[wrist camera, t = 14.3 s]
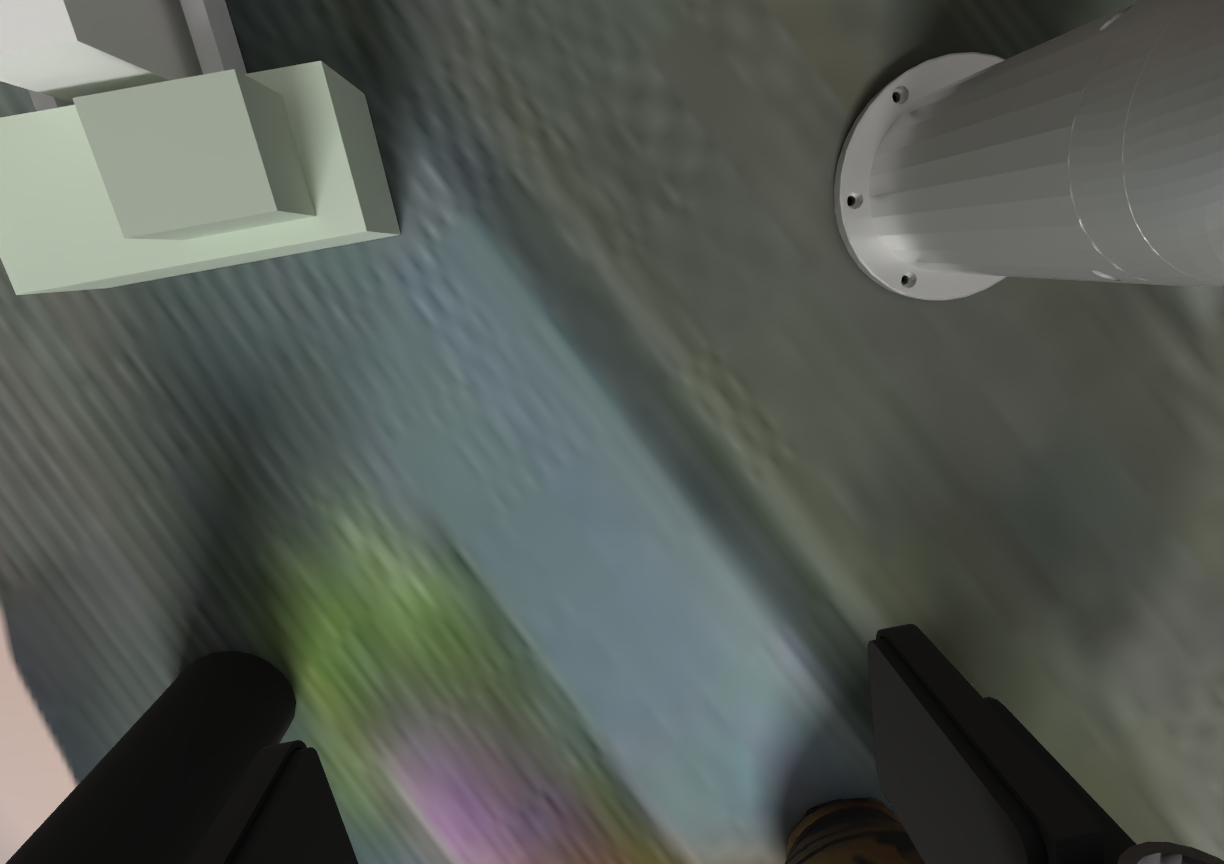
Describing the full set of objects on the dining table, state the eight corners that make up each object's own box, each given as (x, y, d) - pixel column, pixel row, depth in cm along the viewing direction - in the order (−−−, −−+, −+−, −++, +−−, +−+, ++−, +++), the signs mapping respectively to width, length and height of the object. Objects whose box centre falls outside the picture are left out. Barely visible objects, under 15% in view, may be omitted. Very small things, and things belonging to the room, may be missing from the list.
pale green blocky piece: (305, -138, 30) (181, -320, 21) (400, 234, 35) (335, 228, 25) (-33, -79, 30) (-318, -235, 20) (108, 287, 35) (-69, 301, 25)
